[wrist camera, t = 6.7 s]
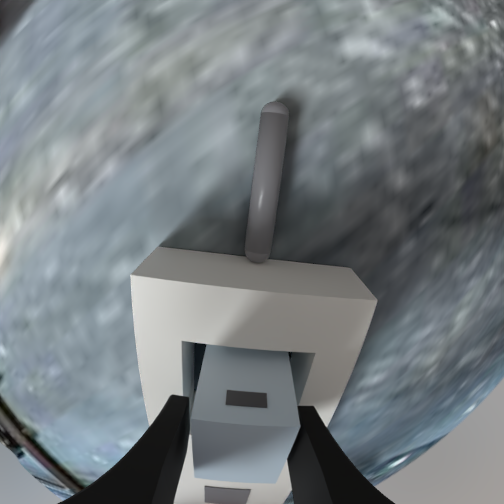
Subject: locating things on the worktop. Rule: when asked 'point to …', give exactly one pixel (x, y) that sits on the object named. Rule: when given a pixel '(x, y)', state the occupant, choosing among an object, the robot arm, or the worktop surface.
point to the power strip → (248, 318)
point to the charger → (243, 415)
